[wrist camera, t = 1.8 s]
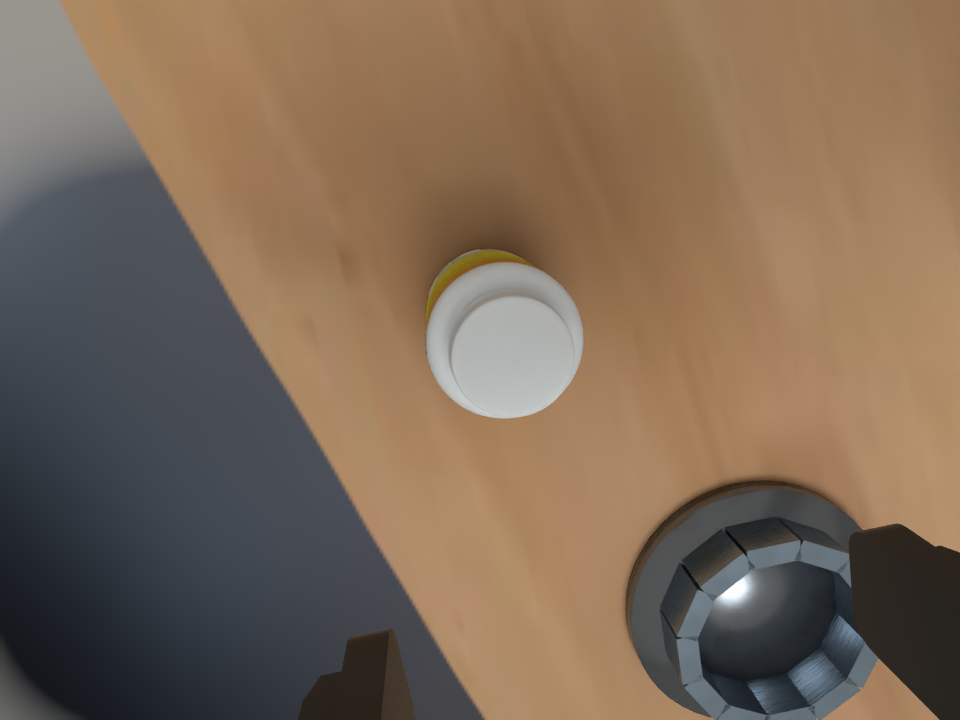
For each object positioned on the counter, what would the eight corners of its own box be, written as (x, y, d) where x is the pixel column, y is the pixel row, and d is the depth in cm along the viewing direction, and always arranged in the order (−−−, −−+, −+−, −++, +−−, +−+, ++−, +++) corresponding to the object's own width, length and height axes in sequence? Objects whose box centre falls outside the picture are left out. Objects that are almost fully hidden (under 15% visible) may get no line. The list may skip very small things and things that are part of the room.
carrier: (683, 449, 33) (713, 478, 30) (909, 521, 35) (962, 556, 32) (589, 671, 36) (606, 722, 32) (804, 727, 38) (843, 781, 34)
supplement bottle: (400, 301, 31) (386, 347, 21) (495, 221, 30) (527, 230, 20) (479, 391, 32) (500, 475, 22) (571, 316, 32) (636, 367, 22)
